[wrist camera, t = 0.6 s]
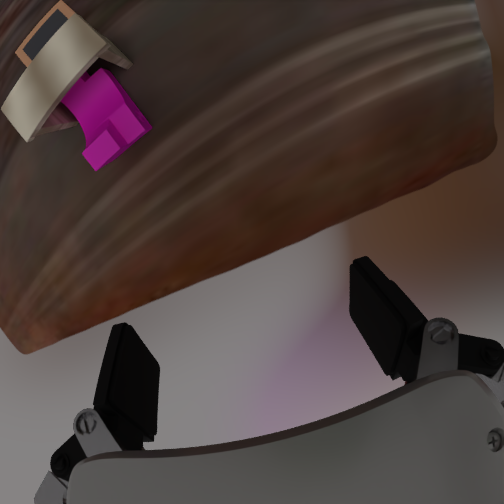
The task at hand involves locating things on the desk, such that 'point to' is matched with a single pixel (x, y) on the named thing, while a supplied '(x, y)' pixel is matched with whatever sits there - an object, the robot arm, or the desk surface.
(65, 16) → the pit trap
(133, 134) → the toy block
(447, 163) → the desk surface
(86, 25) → the tunnel
